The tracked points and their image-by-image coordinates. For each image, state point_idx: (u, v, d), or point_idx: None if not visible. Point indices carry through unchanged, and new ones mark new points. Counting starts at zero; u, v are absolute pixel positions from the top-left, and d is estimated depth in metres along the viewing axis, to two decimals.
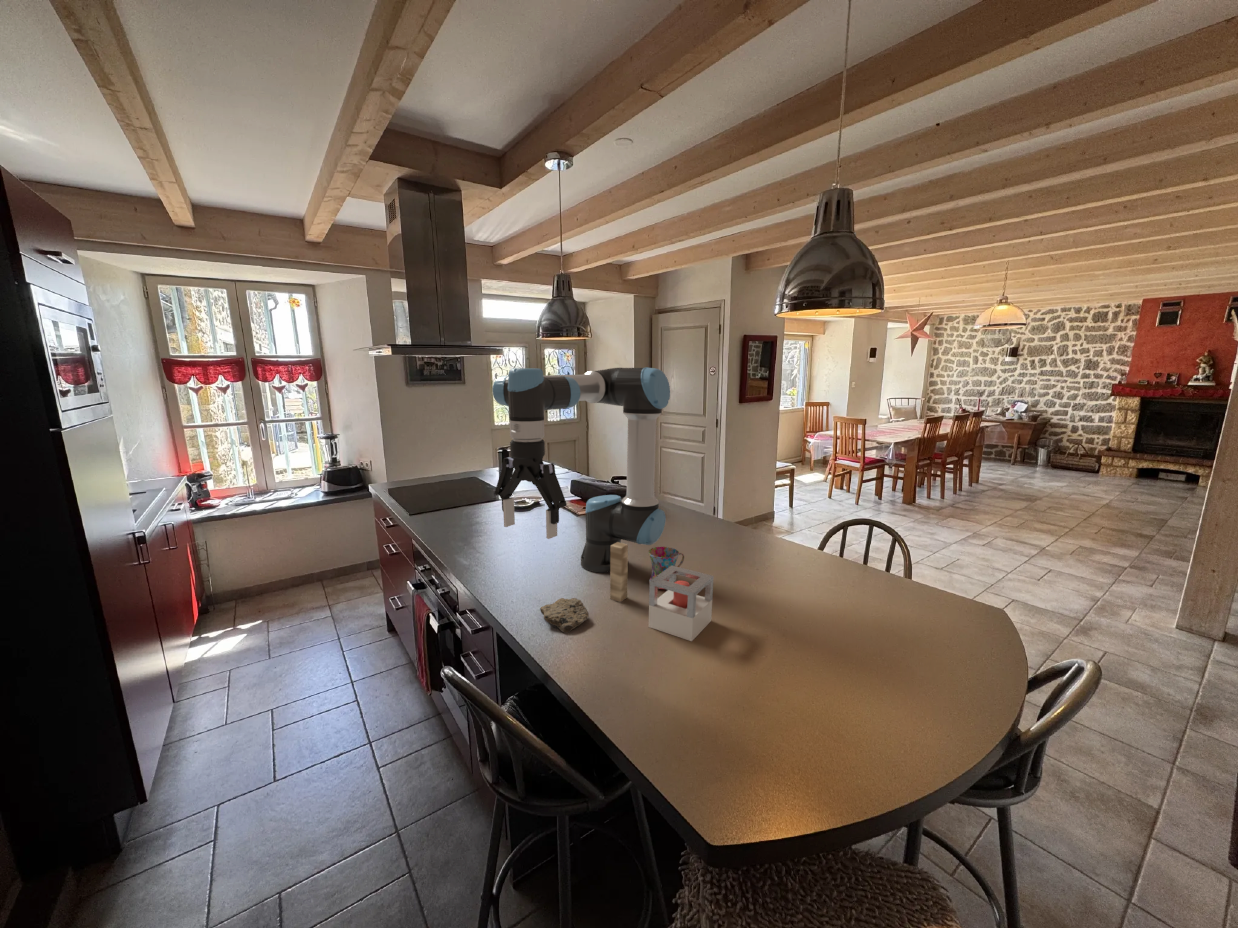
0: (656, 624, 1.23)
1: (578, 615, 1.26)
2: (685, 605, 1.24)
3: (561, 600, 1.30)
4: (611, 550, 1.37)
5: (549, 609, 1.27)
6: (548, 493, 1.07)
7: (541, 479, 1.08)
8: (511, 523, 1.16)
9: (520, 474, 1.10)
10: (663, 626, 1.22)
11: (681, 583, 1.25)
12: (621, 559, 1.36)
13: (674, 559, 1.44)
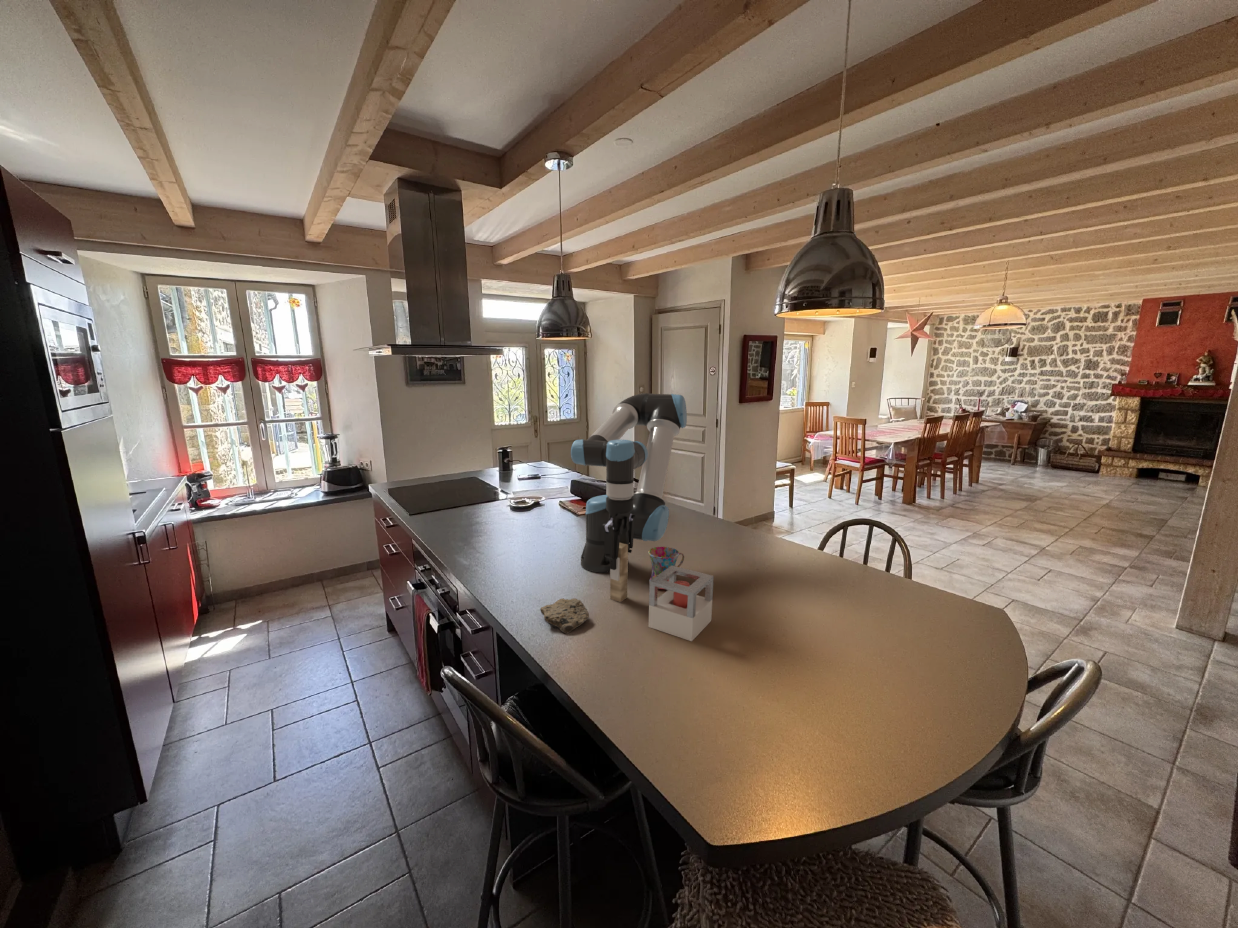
0: (656, 624, 1.23)
1: (578, 615, 1.26)
2: (685, 605, 1.24)
3: (561, 600, 1.30)
4: None
5: (549, 609, 1.27)
6: None
7: (615, 532, 1.34)
8: None
9: None
10: (663, 626, 1.22)
11: (681, 583, 1.25)
12: (621, 559, 1.36)
13: (674, 559, 1.44)
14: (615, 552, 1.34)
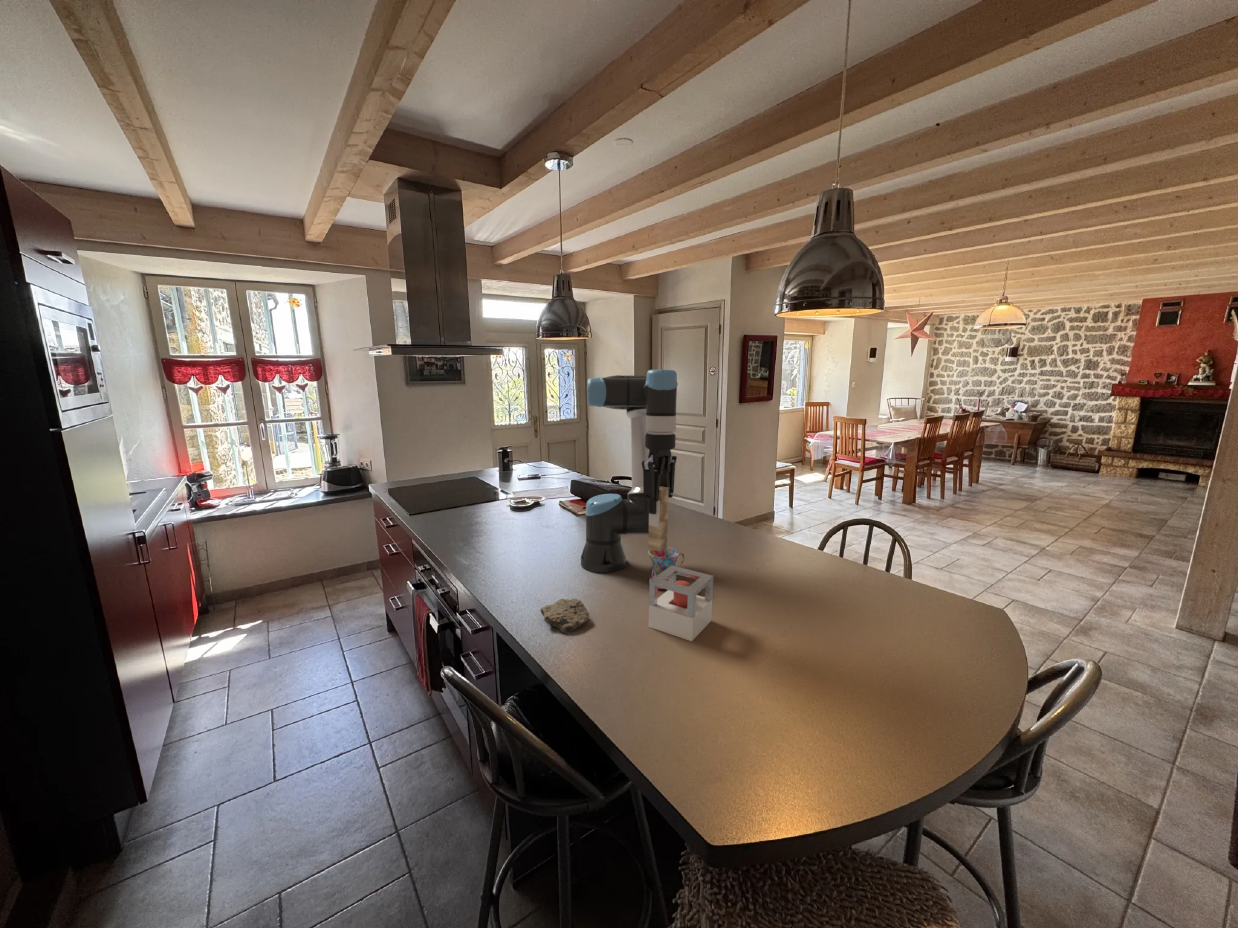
0: (656, 624, 1.23)
1: (579, 616, 1.26)
2: (685, 605, 1.24)
3: (561, 601, 1.30)
4: None
5: (549, 610, 1.26)
6: None
7: (655, 471, 1.21)
8: None
9: None
10: (663, 626, 1.22)
11: (681, 583, 1.25)
12: (661, 502, 1.23)
13: (674, 559, 1.44)
14: (655, 494, 1.21)
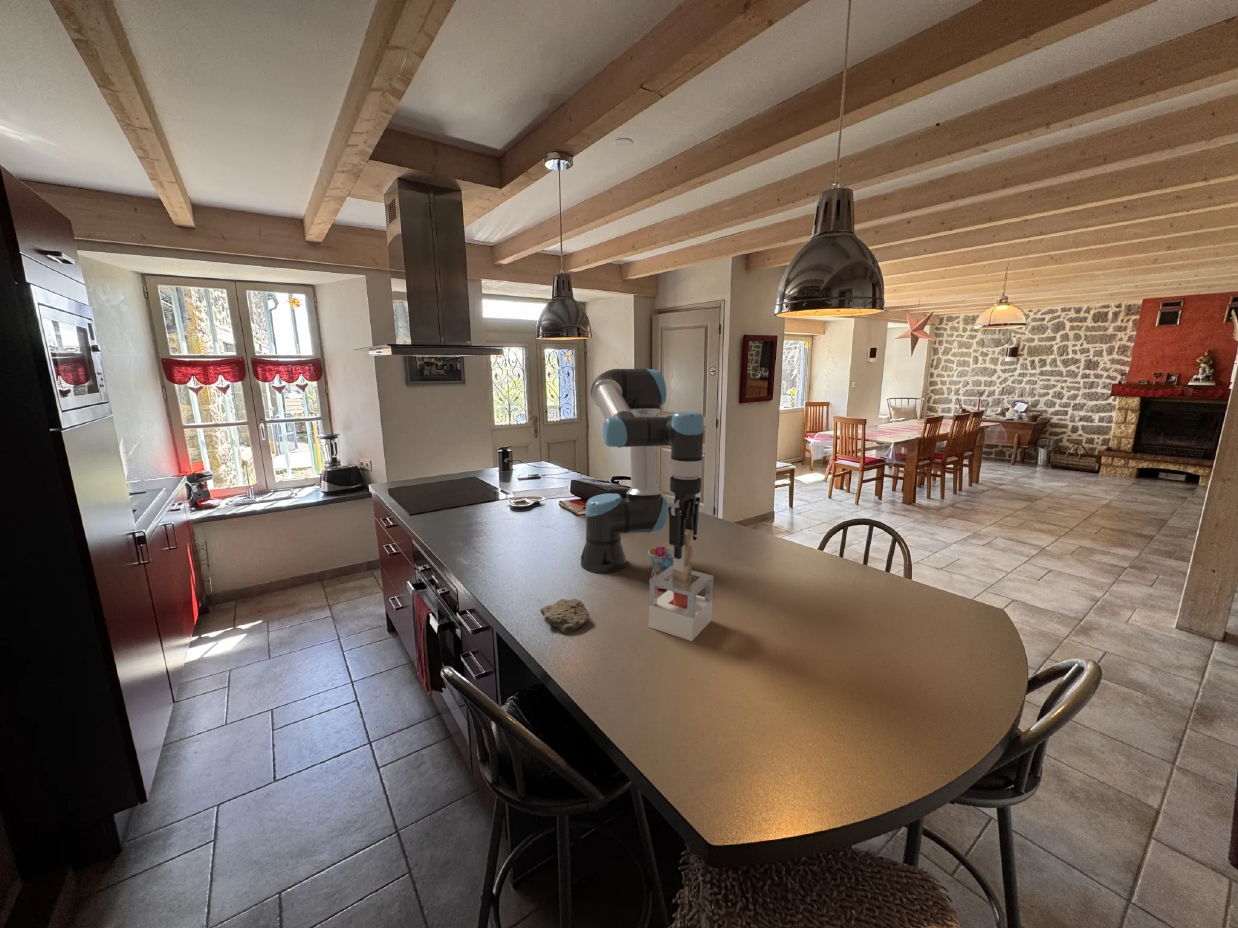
0: (656, 624, 1.23)
1: (579, 616, 1.25)
2: None
3: (561, 601, 1.30)
4: None
5: (550, 610, 1.26)
6: None
7: (680, 516, 1.19)
8: None
9: None
10: (663, 626, 1.22)
11: None
12: (686, 546, 1.20)
13: None
14: (681, 539, 1.19)
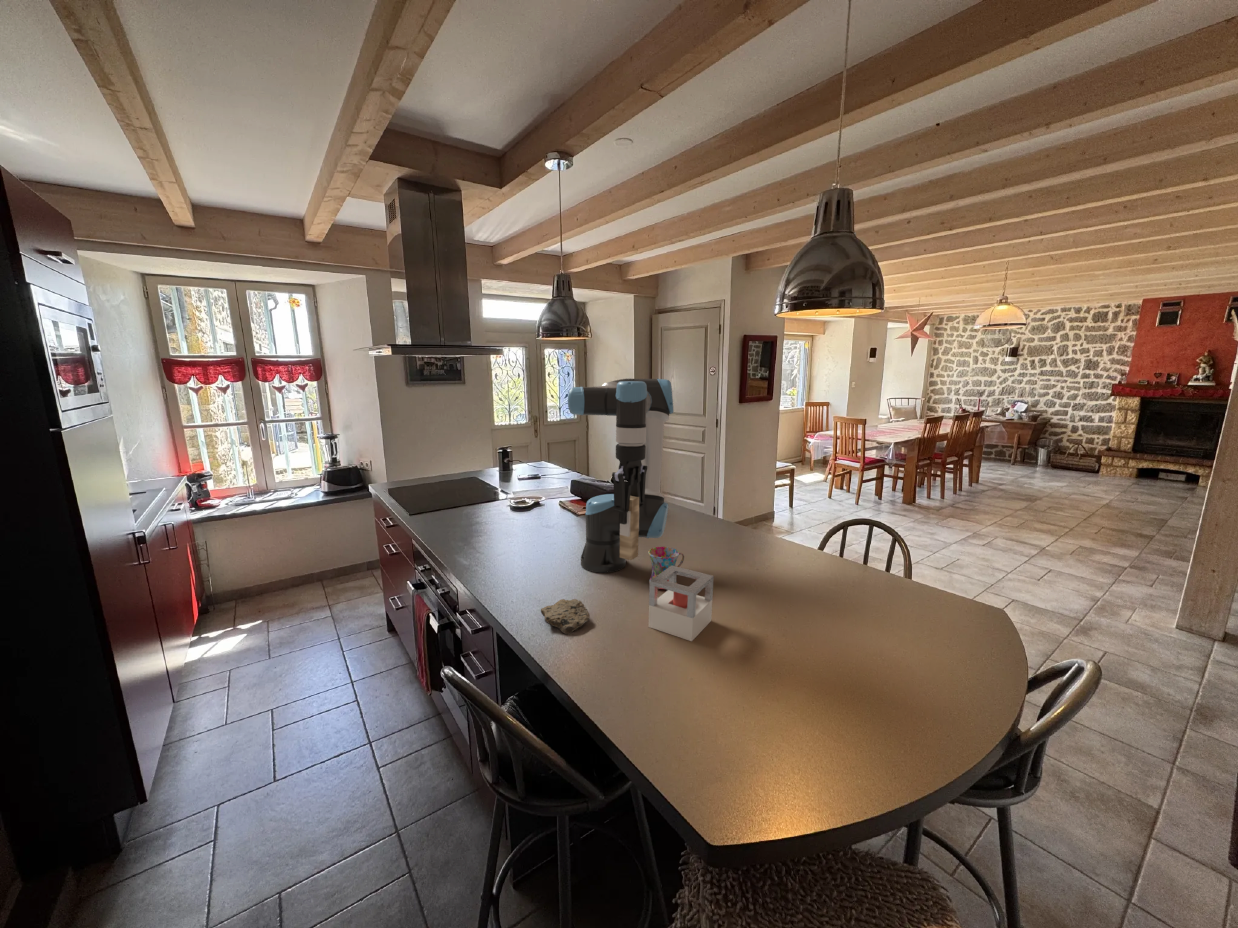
0: (656, 624, 1.23)
1: (579, 616, 1.25)
2: None
3: (562, 601, 1.29)
4: None
5: (550, 610, 1.26)
6: None
7: (625, 482, 1.23)
8: None
9: None
10: (663, 626, 1.22)
11: None
12: (632, 512, 1.24)
13: (674, 559, 1.44)
14: (626, 504, 1.22)
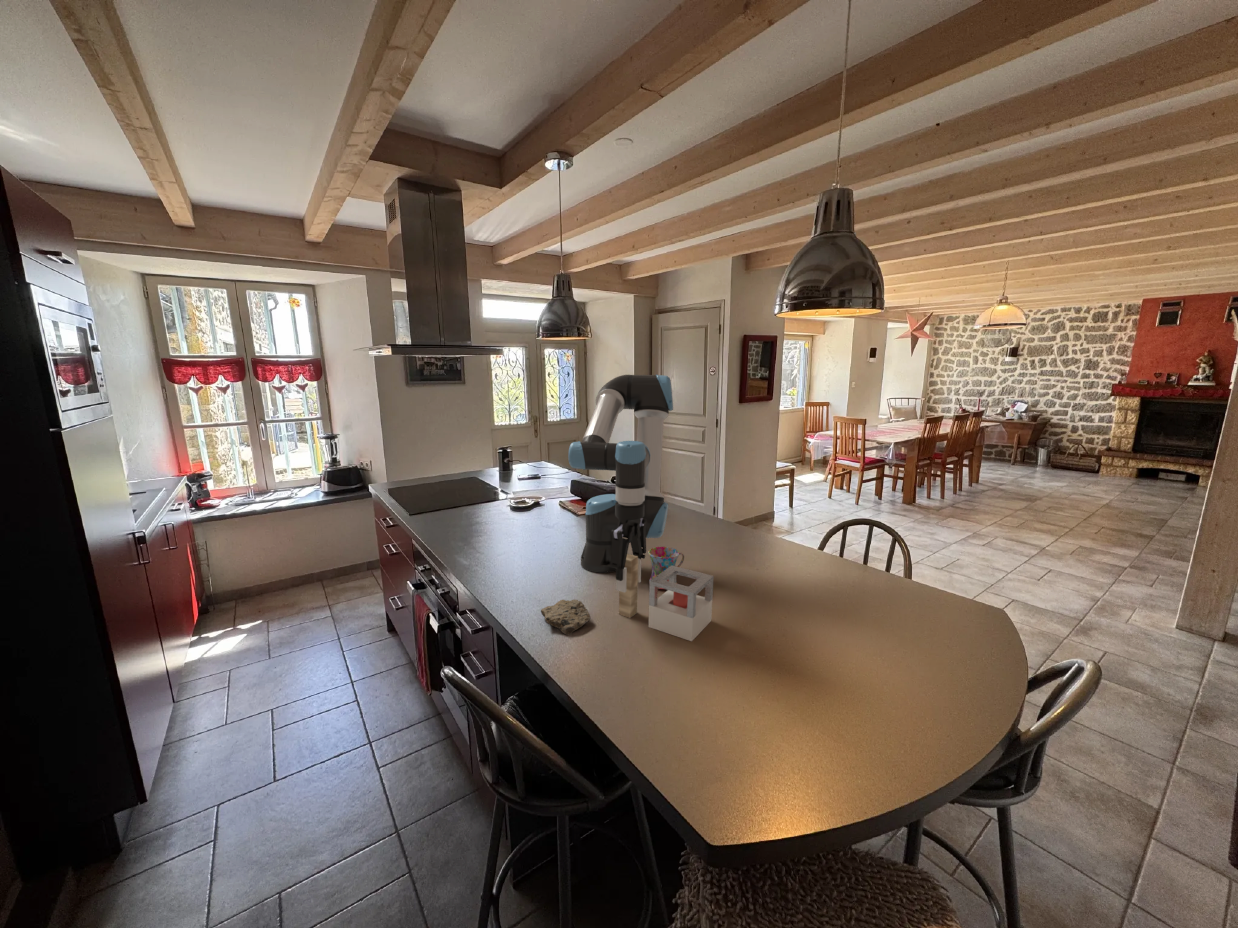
0: (656, 624, 1.23)
1: (579, 617, 1.25)
2: None
3: (562, 602, 1.29)
4: None
5: (550, 611, 1.26)
6: None
7: (624, 539, 1.25)
8: None
9: None
10: (663, 626, 1.22)
11: None
12: (631, 572, 1.27)
13: (674, 559, 1.44)
14: (622, 561, 1.24)
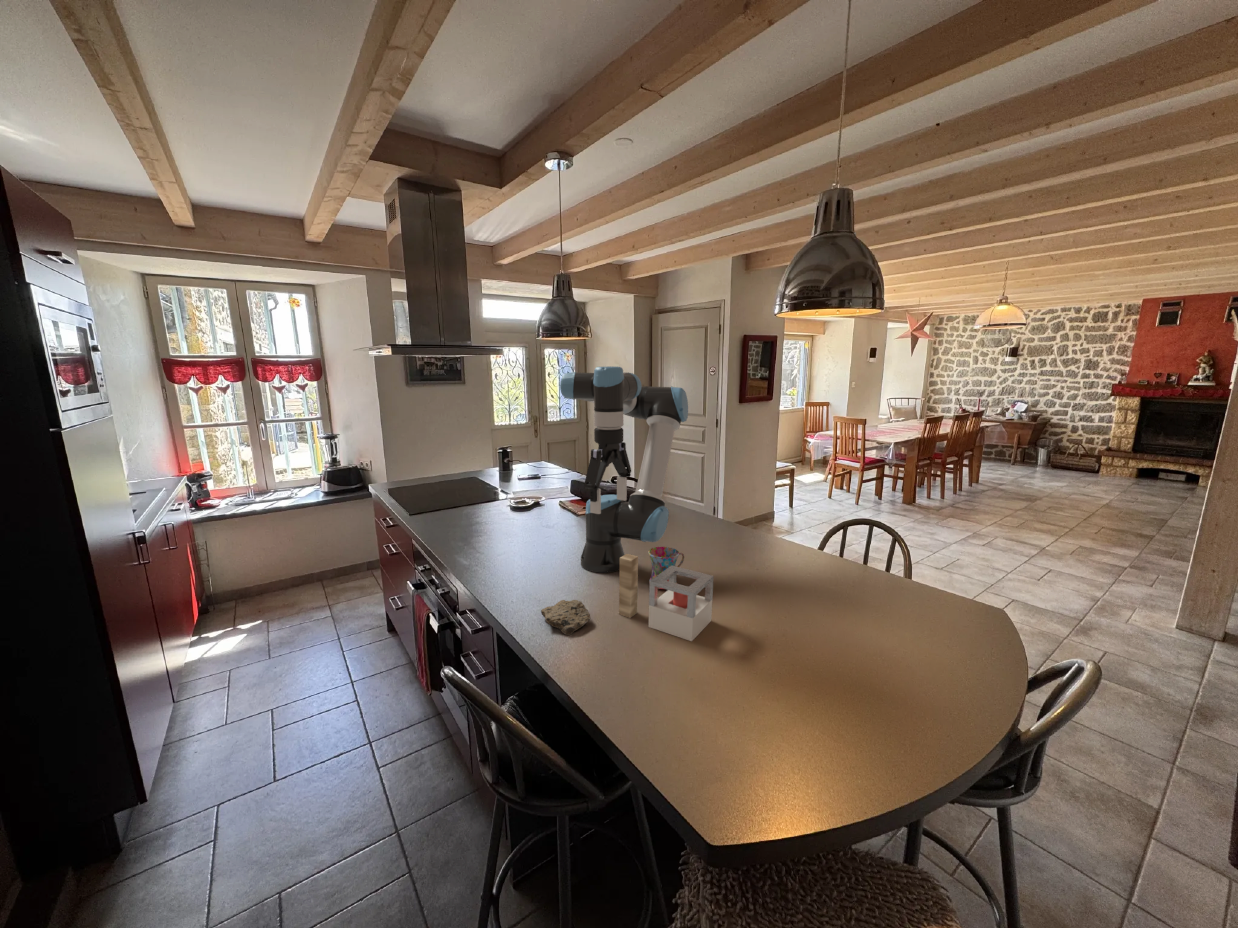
0: (656, 624, 1.23)
1: (580, 617, 1.25)
2: None
3: (562, 602, 1.29)
4: (620, 562, 1.28)
5: (550, 611, 1.26)
6: None
7: (602, 462, 1.25)
8: (622, 498, 1.37)
9: None
10: (663, 626, 1.22)
11: None
12: (631, 572, 1.27)
13: (674, 559, 1.44)
14: (597, 481, 1.23)
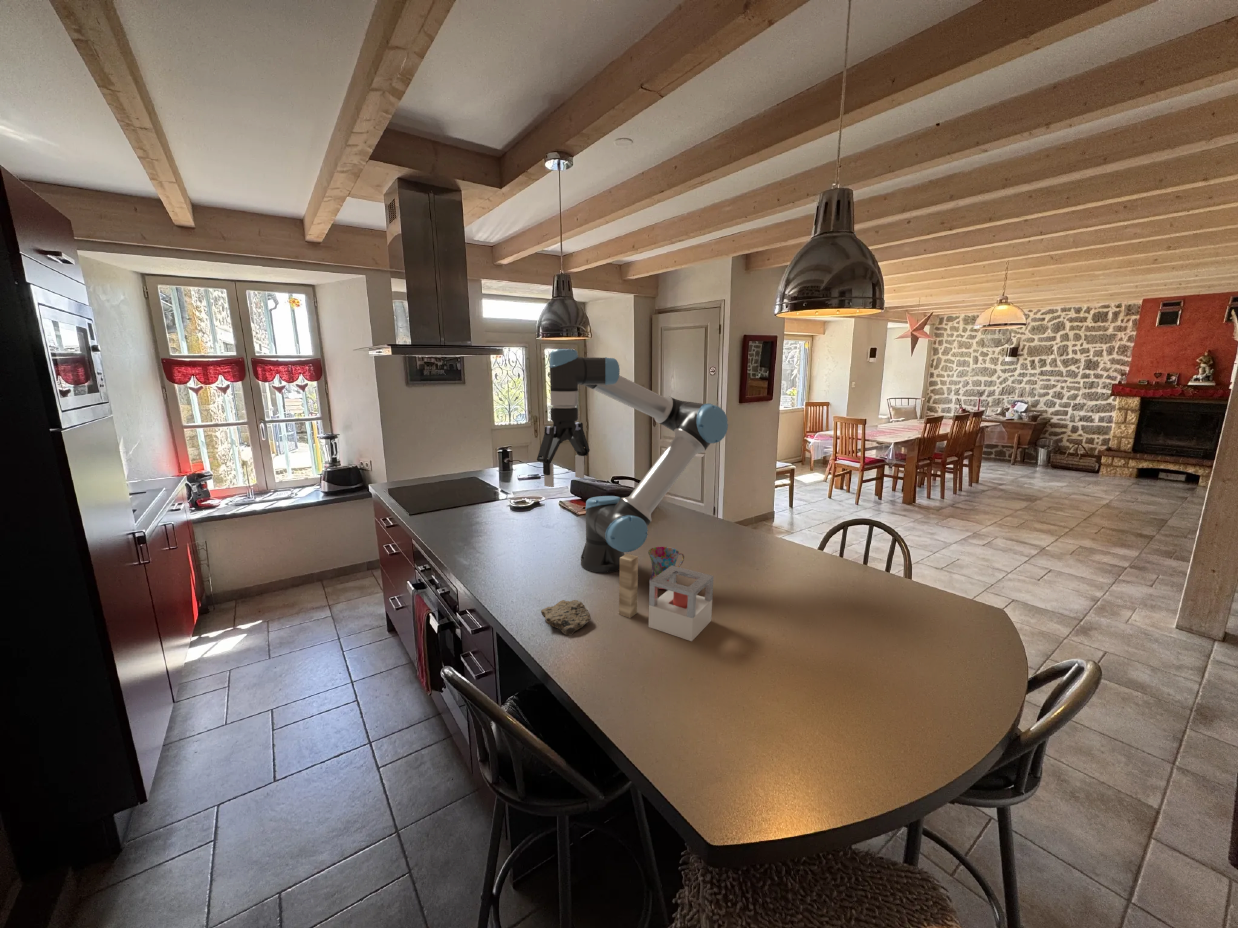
0: (656, 624, 1.23)
1: (580, 617, 1.25)
2: None
3: (562, 602, 1.29)
4: (620, 562, 1.28)
5: (550, 611, 1.26)
6: None
7: (556, 439, 1.34)
8: (579, 476, 1.44)
9: None
10: (663, 626, 1.22)
11: None
12: (631, 572, 1.27)
13: (674, 559, 1.44)
14: (549, 456, 1.31)
